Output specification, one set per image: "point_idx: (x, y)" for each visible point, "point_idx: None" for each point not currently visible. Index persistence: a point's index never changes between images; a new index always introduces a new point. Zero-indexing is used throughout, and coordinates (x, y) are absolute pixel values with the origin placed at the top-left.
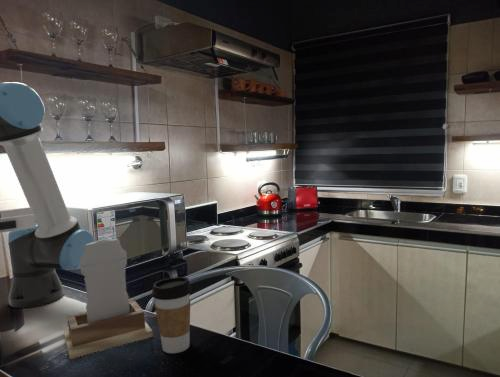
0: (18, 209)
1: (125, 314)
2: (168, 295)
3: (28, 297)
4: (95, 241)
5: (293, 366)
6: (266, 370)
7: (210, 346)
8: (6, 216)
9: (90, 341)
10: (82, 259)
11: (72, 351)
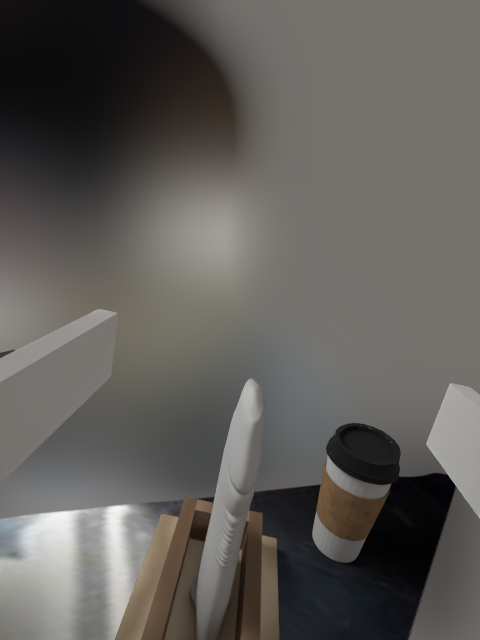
0: (76, 339)
1: (250, 541)
2: (398, 469)
3: None
4: (252, 403)
5: (440, 485)
6: (444, 505)
7: None
8: (22, 418)
9: None
10: (254, 472)
11: None
